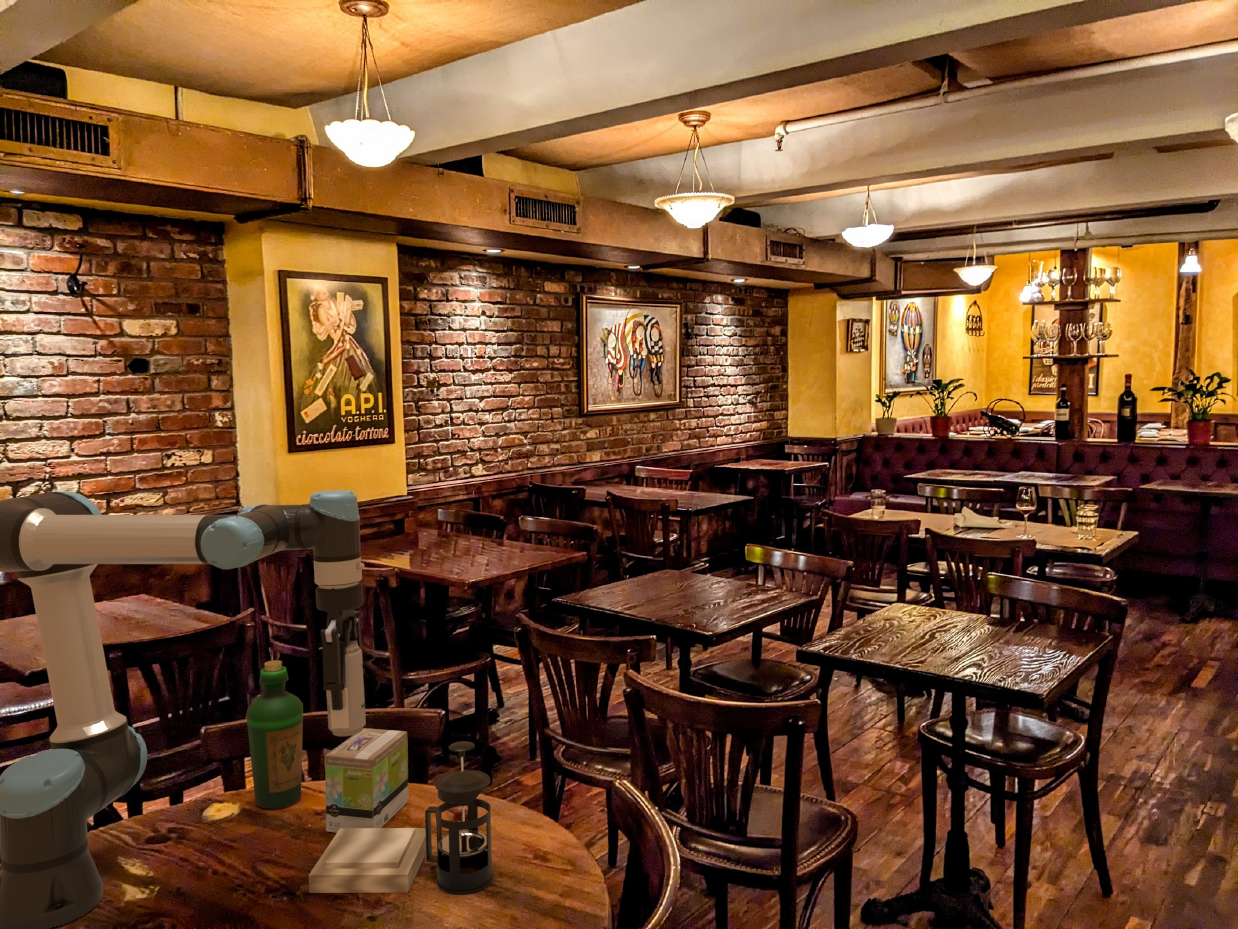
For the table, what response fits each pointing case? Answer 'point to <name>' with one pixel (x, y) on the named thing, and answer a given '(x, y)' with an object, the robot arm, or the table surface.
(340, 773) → the tea box
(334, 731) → the energy drink can
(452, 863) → the french press
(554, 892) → the table surface
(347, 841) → the birch base
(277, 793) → the bottle
